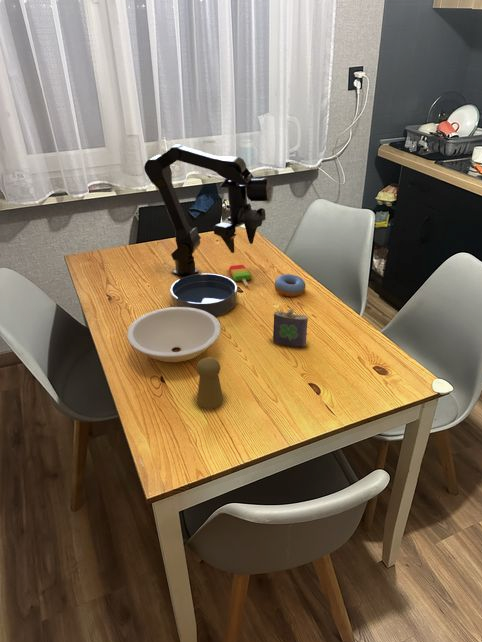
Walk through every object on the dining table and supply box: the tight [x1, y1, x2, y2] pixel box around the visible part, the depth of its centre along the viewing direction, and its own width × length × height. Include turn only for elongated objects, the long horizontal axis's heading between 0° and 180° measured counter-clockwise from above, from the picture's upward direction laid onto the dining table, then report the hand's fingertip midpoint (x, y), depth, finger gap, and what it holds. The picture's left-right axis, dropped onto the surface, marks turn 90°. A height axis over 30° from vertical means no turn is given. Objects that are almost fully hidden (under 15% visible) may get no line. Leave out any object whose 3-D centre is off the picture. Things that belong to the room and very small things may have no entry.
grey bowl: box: [126, 306, 222, 363], centre depth 130 cm, size 24×24×7 cm
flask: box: [272, 308, 309, 349], centre depth 132 cm, size 9×3×11 cm, turn 74°
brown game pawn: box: [196, 357, 224, 410], centre depth 112 cm, size 6×6×11 cm
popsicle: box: [228, 264, 252, 287], centre depth 168 cm, size 6×15×2 cm, turn 17°
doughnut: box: [274, 273, 306, 297], centre depth 160 cm, size 10×10×5 cm
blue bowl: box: [169, 273, 238, 318], centre depth 153 cm, size 20×20×5 cm
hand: (242, 248), depth 162 cm, fingers open, 9 cm apart
